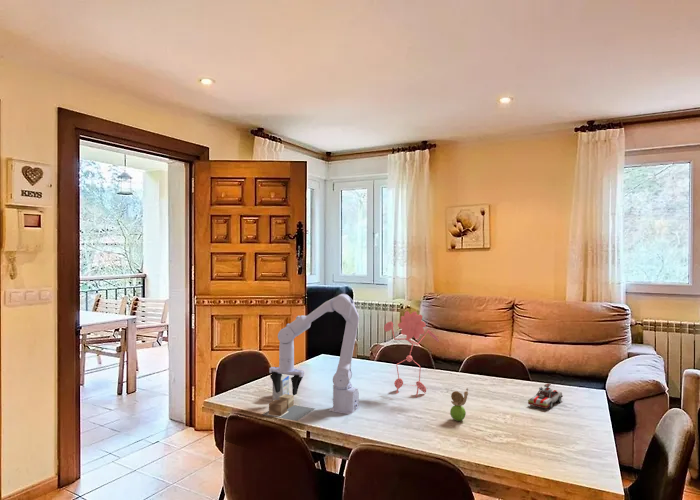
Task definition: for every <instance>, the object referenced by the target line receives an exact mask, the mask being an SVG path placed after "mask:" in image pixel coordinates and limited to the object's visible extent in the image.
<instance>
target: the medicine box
mask: <svg viewBox="0 0 700 500" xmlns="http://www.w3.org/2000/svg"><path fill="white" fill-rule="evenodd" d="M284 394H288V395H290V375H286V374H282V376H281V389H280V392H278V393H276V390H275V386H274V383H273V382H272V401H274V400H275V399H276V400H279V397H280V396H282V395H284Z"/></svg>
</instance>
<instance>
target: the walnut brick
mask: <svg viewBox="0 0 700 500" xmlns="http://www.w3.org/2000/svg"><path fill="white" fill-rule="evenodd" d="M268 411H269V414H270V415H278V416H282V415H283V414H284V413H286V412H287V401H285V400H276V399H275V400H272V401H271V402H269V403H268Z"/></svg>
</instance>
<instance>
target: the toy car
mask: <svg viewBox="0 0 700 500" xmlns="http://www.w3.org/2000/svg"><path fill="white" fill-rule="evenodd" d="M550 386H552V383H549V382H548V383H545V384H544V385H543V387H542V386H540V387H539V388H538V389H539V390H538V391H537V393H536V394H535V395H534V396H532V397H531V398H530V399H528V400H527V404H528V405H530V406H534V407H539V408H542V409H550V410H551V409H553V404H554V403H558V404H561V403H562V398H563V396H564V395H563V392H562V391H561V390H556V389H555V388H551V387H550Z"/></svg>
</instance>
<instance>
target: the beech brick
mask: <svg viewBox="0 0 700 500" xmlns="http://www.w3.org/2000/svg"><path fill="white" fill-rule="evenodd" d="M294 397H295V395H293V394H289V395H288V394H284V395H282V396H280V397H279V400H285V401H287V409H289V408H290V407H292V406H294V405H295V404H294V403H295V400H294Z"/></svg>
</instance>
